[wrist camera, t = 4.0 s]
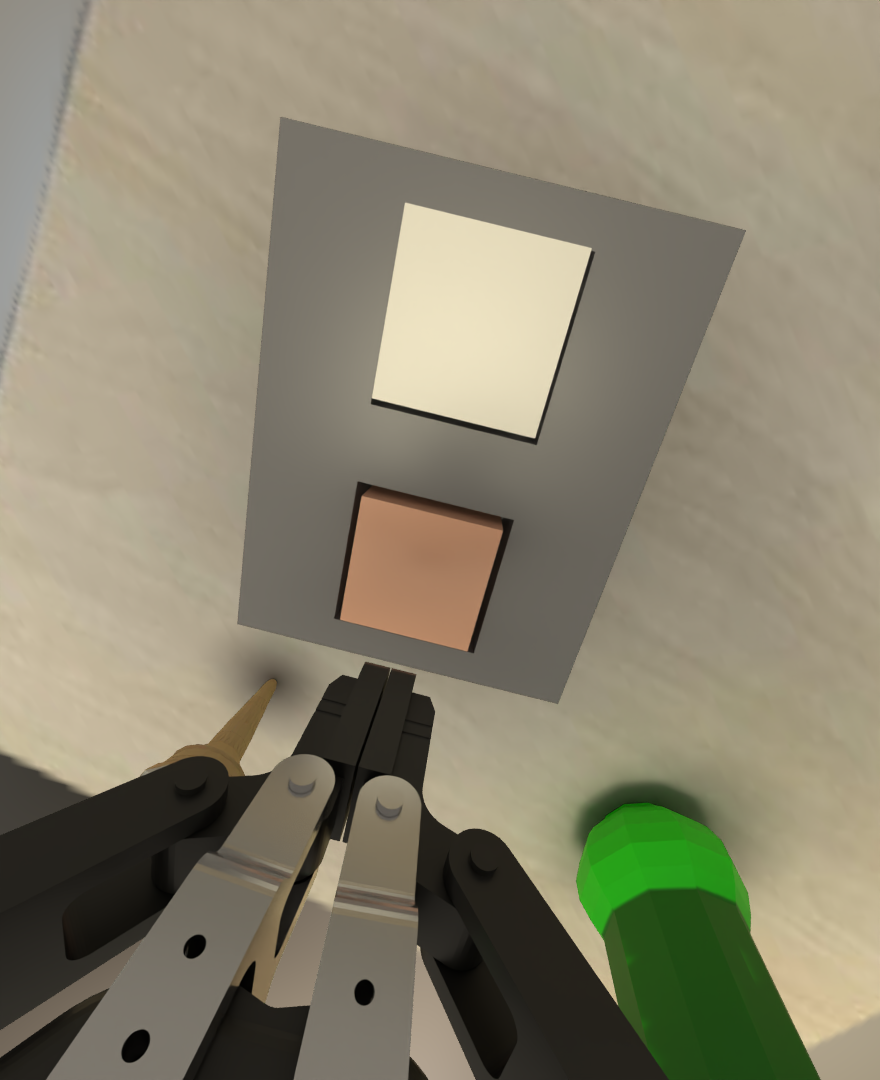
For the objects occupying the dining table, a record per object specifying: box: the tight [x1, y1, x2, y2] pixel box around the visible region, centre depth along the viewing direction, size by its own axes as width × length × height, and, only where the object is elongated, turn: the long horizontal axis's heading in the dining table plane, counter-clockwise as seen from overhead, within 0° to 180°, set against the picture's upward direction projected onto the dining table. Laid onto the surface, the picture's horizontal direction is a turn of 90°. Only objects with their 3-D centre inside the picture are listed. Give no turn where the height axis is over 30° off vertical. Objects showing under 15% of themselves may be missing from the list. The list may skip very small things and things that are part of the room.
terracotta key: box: [340, 485, 503, 651], centre depth 21 cm, size 6×6×3 cm
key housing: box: [237, 117, 746, 704], centre depth 22 cm, size 16×20×6 cm
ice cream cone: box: [140, 679, 277, 777], centre depth 24 cm, size 6×6×15 cm
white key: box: [372, 203, 592, 438], centre depth 17 cm, size 6×6×3 cm
